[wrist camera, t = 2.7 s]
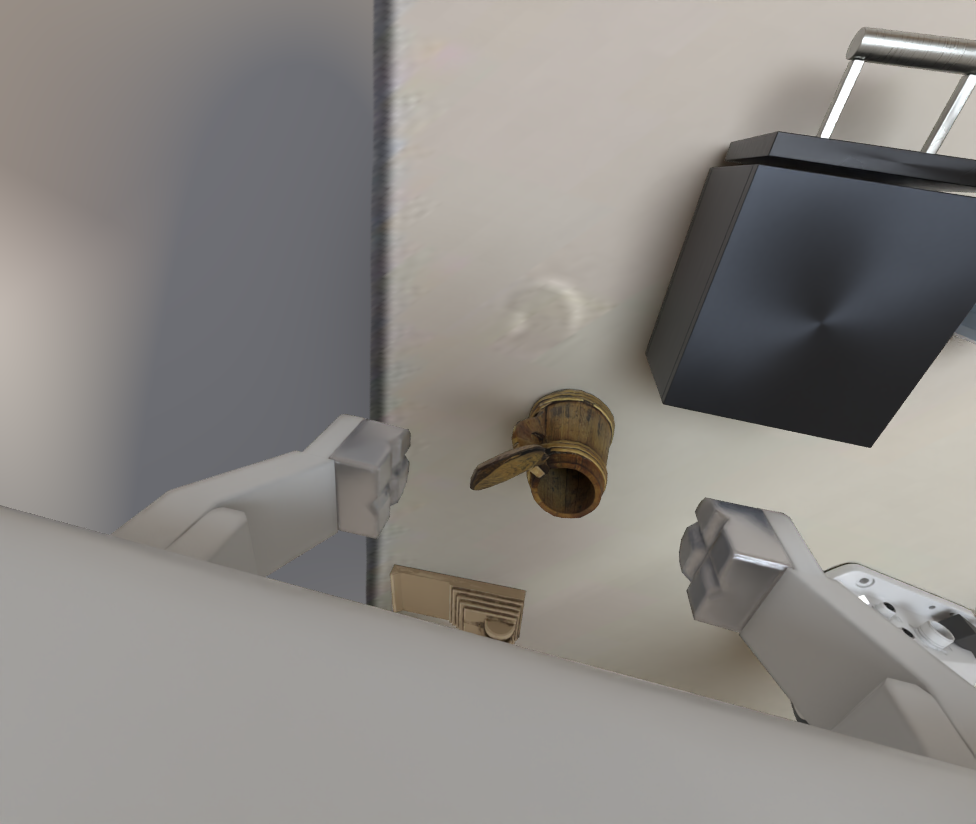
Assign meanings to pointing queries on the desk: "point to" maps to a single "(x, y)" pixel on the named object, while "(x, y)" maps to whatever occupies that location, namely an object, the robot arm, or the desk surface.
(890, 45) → the drawer
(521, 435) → the wooden mug
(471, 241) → the desk surface
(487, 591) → the banker's lamp
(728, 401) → the black box
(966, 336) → the cup
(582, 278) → the desk surface
